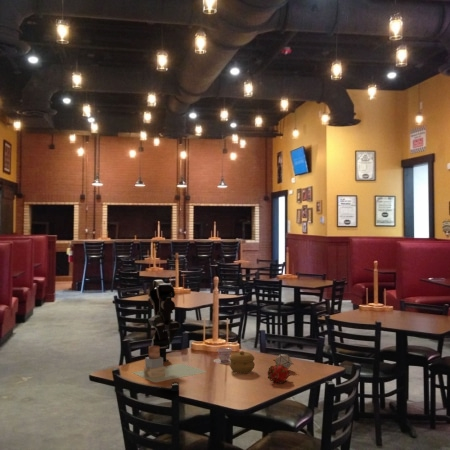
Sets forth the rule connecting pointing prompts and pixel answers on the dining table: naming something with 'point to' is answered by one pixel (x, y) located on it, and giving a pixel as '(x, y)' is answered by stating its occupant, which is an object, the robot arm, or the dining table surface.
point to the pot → (242, 362)
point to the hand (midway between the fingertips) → (165, 341)
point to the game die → (283, 360)
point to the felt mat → (173, 372)
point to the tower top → (153, 362)
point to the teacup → (223, 355)
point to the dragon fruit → (278, 373)
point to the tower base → (154, 372)
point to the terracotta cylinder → (154, 352)
